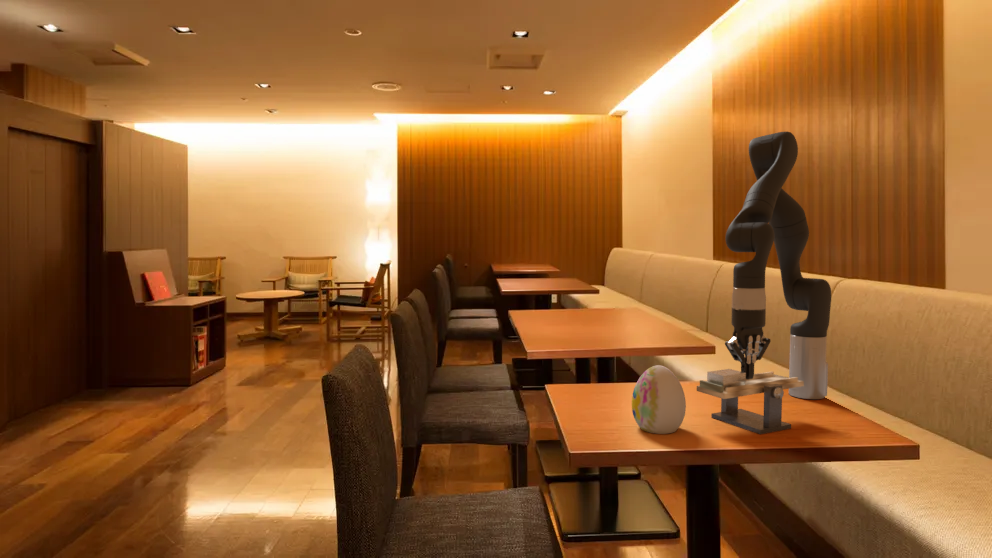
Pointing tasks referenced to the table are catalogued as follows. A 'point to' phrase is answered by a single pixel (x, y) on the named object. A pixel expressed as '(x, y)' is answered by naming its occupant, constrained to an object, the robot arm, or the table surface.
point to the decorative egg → (658, 401)
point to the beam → (749, 385)
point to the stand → (753, 420)
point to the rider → (727, 378)
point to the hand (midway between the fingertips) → (747, 378)
